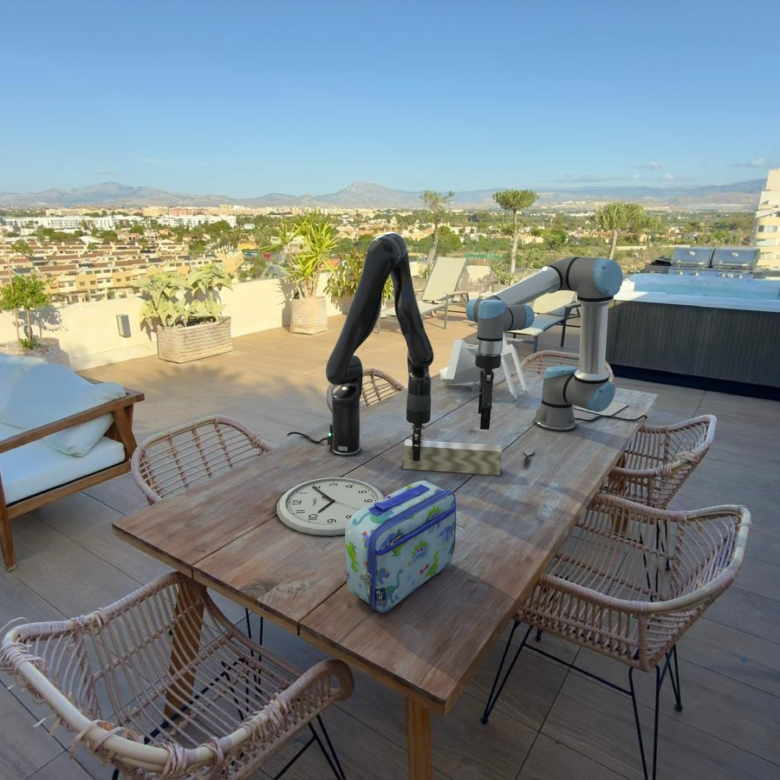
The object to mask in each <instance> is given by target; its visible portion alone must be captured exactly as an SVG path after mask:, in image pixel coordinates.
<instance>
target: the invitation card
mask: <svg viewBox="0 0 780 780" xmlns="http://www.w3.org/2000/svg"><path fill="white" fill-rule="evenodd" d="M628 406H629V404H627V403H623V402H618V401H614V400H612V402H611V403H610V405H609V406H608V407H607V408H606V409H605V410H603V411H601V412H595V411H589V410H587V409H584V408H581V407H578V406H574V407H573V409H575V410H581V411H584V412H587V413H593V414H596V415H599V416H600V415H609V416H614V414H616V413H617V412H619V411H621V410H623V409H624V408H626V407H628Z"/></svg>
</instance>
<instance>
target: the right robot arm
mask: <svg viewBox="0 0 780 780" xmlns="http://www.w3.org/2000/svg"><path fill="white" fill-rule="evenodd" d="M623 281H624V276H623V270H622V267H621V265H620V264H619V263H618V262H617V261H616V260H614V259H612V258H611V259H610V258H605V257H590V256H589V257H588V256H587V257H586V256H569V257H566V258H562V259H559V260H557V261H554V262H551V263H550V264H547V265H545V266H543V267H541V268H540V269H539V270H538V272H537V273H535V274H533V275H531V276H529V277H527V278H525V279H523V280H521V281H519V282H517V283H515V284H512V285H511V286H508V287H506V288H504V289H502V290H500V291H498V292H496V293H494V294H491V295H490V296H488V297H485V298H472V299H470V300H469V301H468V302H467V304H466V306H465V315H466V318H467V319H468V321H470V322H474V323H476V324H477V325H476V326H477V328H476V332H477V333H476V341H474V343H473V344H474V346H476V351H477V352H478V353H476V355H475V365H476V366H477V367H479V368H482V371H480V382H479V387H478V388H479V391H478V392H479V395H478V408H477V414H479V415H480V423H479V430H487V431H490V427H491V415H492V408H493V387H494V379H495V373H494V371H492V369H494V368H495V369H494V370H496V369H499V368H500V367H501V366H502V363H501V355H500V354H501V353H502V348H503V332H504V333H507V332H514V331H523V330H526V329H529V328H530V327H532V326H533V324H534V322H535V317H536V316H535V312H534V311H535V310H534V309H533V307H531V306H530V305H529V303H531V302H532V301H534V300H536V299H539V298H541V297H542V296H544V295H547V294H550V295H551V294H555V293H557V292H561V291H562V292H563V291H567V292H575V293H576V301H577V302H578V303H579V304H580V305H581V306H580V327H579V328H580V329H579V330H580V331H579V332H580V333H579V355H578V356H579V357H578V358H579V360H578V368H577V367H576V366H571V365H570V366H569V365H557V366H556V365H555V366H550V367H547V368H546V369H545V371H544V375H543V378H542V379H543V381H542V382H543V383H542V394H541V402H540V405H539V407H538V409H537V410H536V413H535V417H534V424H535V425H536V426H537V427H539V428H542V429H544V430H549V431H556V432H567V431H572V430H574V429H575V428H576V421H581V422H582V421H583V422H594V421H595V420H597V419H599V418H610V419H611V418H612V419H616V420H620V421H621V420H622V421H627V422H636V421H637V422H638V421H640V420H641V419H642V418H645V419H648V418H649V417H648V415H645V414H641V415H640V416H639V417H637V418H624V417H619V416H616V415H611V416H609V415H600V414H599V415H597V416H595V417H593V418H591V419H585V418H580V417H576V416H575V413H574V407H576V406H578V407H581V408H584V409H587V410H589V411H595V412H601V411H603V410H605V409H606V408H607V407H608V406H609V405H610V403H611V402H612V401H614V398H615V395H616V385H615V383H614V382H612V381H610V373H609V371H607V370H606V355H607V353H606V352H607V336H608V335H607V334H608V317H609V316H608V315H609V304H610V303H611V302H613V300H614V297H615V296H616V295H618V293H619V292H620V291H621V287H622V286H623ZM573 406H574V407H573Z"/></svg>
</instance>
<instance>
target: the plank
mask: <svg viewBox="0 0 780 780" xmlns="http://www.w3.org/2000/svg"><path fill="white" fill-rule="evenodd" d="M414 446H419V445H414ZM502 453H503V451H502V445H500V444H486V443H469V442H455V441H454V442H453V441H437V440H424V439H423V442H422V443H421V450H420V460H419V461H413V450H412V441H411V439H406V438H405V439H404V444H403V466H402V467H403V468H402V469H404V470H415V471H416V470H417V471H429V472H430V471H432V472H447V473H461V474H476V475H489V476H501V465H502Z"/></svg>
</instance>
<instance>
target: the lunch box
mask: <svg viewBox="0 0 780 780" xmlns="http://www.w3.org/2000/svg"><path fill="white" fill-rule="evenodd" d="M456 531H457V499H456V495H455V493H454V492H453V490H450V489H442V488H440V487H439V486H437V485H435V484H433V483H432V482H430V481H428V480H418V481H416V482H413V483H410V484H409V485H406V486H405V487H402V488H400V489H398V490H396V491H394V492H392V493H390V494H388V495H385V497H384V498H382V499H380V500H378V501H376V502H374V503H372V504H370V505H368V506H366V507H364V508H362V509H360V510H358V511H357V512H355V513H354V514H353V515H352V517H351V518H350V520H349V522H348V524H347V527H346V531H345V534H344V552H345V577H346V578H345V580H346V586H347V589H348V592H349V593H350V594H352V595H354V596H356V597H357V598H359V599H361V600H363V602H365V603H367V604H368V605H370V607H371V608H372V609H373V610H375V611H376V612H378V613H380V614H382V613H383V614H385V613H387V612H389V611H391V609H393V608H394V607H395V606H396V605H397V604H400V602H401V601H402V600H404V599H406V597H409V596H410V595H411V594H412V593H414V592H415V591H416V590H417V589H418V588H420V587H421V586H422V585H423V584H424V583H425V582H427V581H428V580H430V579H432V578H433V577H434V576H436V575H437V574H439V573H441V572H442V571H443V570H445V568H446V567H447V566H448V564H449V563H450V561H451V560H452V557H453V554H454V551H455V548H456V547H455V546H456Z"/></svg>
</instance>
